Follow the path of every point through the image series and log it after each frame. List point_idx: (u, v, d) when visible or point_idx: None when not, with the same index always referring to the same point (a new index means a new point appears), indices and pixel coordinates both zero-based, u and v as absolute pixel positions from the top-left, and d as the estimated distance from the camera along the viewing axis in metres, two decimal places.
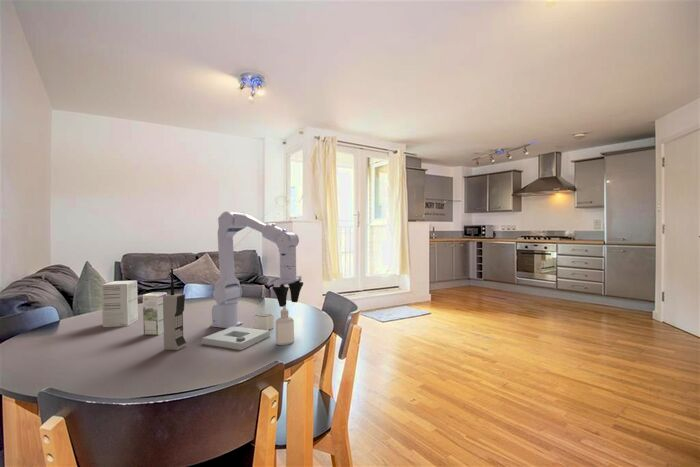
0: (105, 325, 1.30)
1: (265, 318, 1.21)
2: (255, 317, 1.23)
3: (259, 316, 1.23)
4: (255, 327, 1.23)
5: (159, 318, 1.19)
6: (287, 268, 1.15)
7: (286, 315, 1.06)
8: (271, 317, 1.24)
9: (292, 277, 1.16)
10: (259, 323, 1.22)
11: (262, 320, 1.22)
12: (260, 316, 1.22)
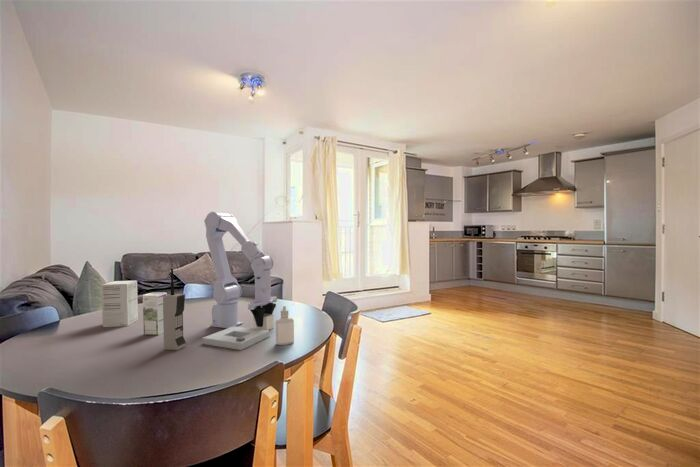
0: (105, 325, 1.30)
1: (265, 318, 1.21)
2: None
3: None
4: (255, 327, 1.23)
5: (159, 318, 1.19)
6: (261, 291, 1.21)
7: (286, 315, 1.06)
8: (271, 317, 1.24)
9: (266, 299, 1.22)
10: None
11: None
12: None
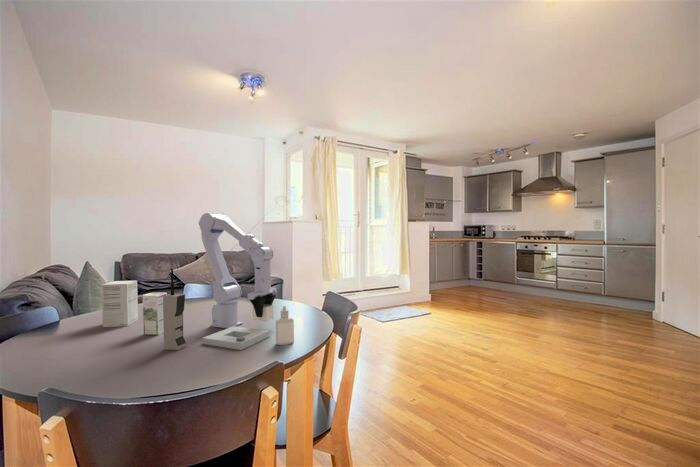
0: (105, 325, 1.30)
1: (265, 308, 1.21)
2: None
3: None
4: (255, 317, 1.23)
5: (159, 318, 1.19)
6: (261, 281, 1.21)
7: (286, 315, 1.06)
8: (271, 307, 1.24)
9: (266, 290, 1.22)
10: None
11: None
12: None
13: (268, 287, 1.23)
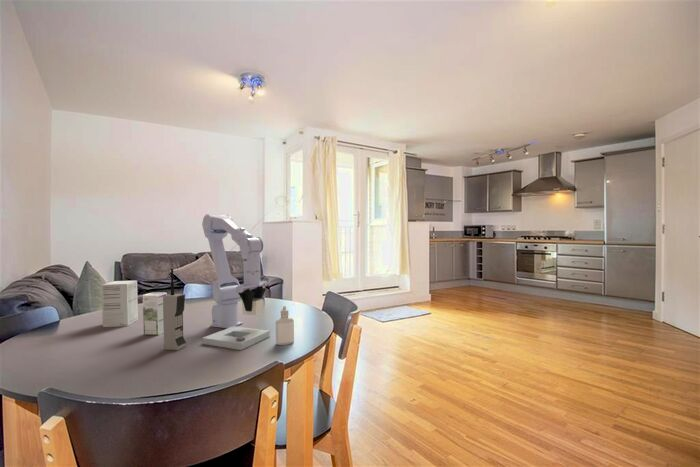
0: (105, 325, 1.30)
1: (254, 302, 1.16)
2: None
3: None
4: (244, 312, 1.17)
5: (159, 318, 1.19)
6: (250, 273, 1.16)
7: (286, 315, 1.06)
8: (261, 301, 1.18)
9: (255, 282, 1.16)
10: None
11: None
12: None
13: (258, 280, 1.17)
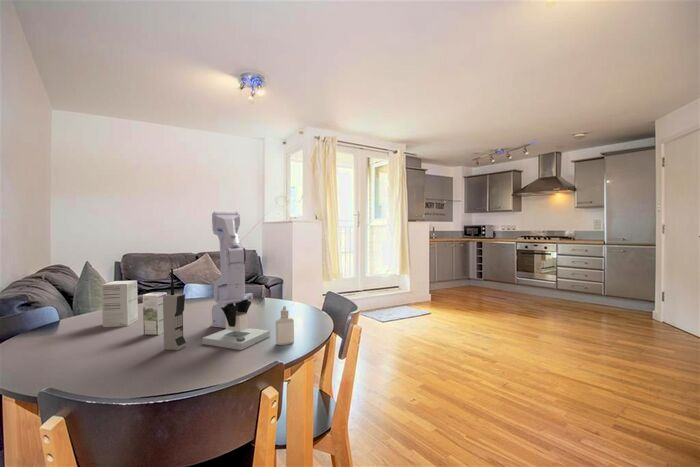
0: (105, 325, 1.30)
1: (238, 317, 1.08)
2: None
3: None
4: (227, 327, 1.10)
5: (159, 318, 1.19)
6: (234, 286, 1.08)
7: (286, 315, 1.06)
8: (245, 316, 1.11)
9: (239, 296, 1.09)
10: None
11: None
12: None
13: (242, 293, 1.10)
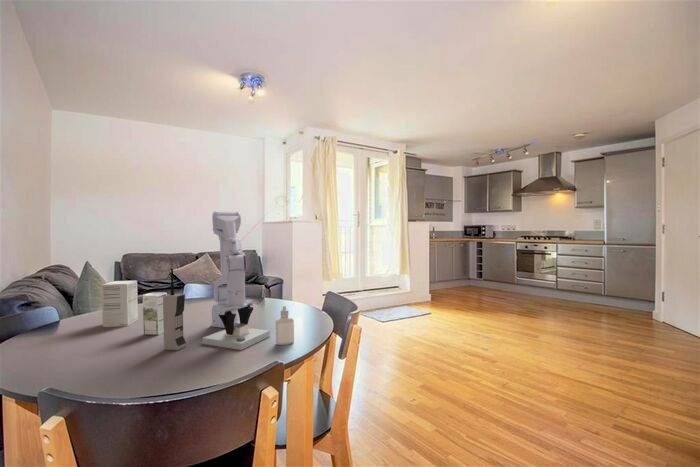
0: (105, 325, 1.30)
1: (238, 329, 1.08)
2: None
3: None
4: None
5: (159, 318, 1.19)
6: (234, 293, 1.08)
7: (286, 315, 1.06)
8: (245, 327, 1.11)
9: (239, 303, 1.09)
10: None
11: (235, 331, 1.09)
12: None
13: (242, 300, 1.10)
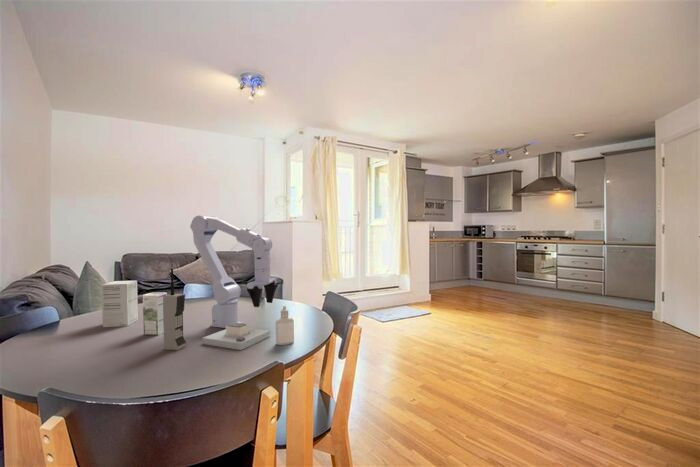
0: (105, 325, 1.30)
1: (238, 329, 1.08)
2: (227, 327, 1.10)
3: (232, 326, 1.10)
4: None
5: (159, 318, 1.19)
6: (261, 271, 1.23)
7: (286, 315, 1.06)
8: (245, 327, 1.11)
9: (266, 279, 1.24)
10: (231, 334, 1.09)
11: (235, 331, 1.09)
12: (233, 326, 1.10)
13: (268, 277, 1.25)
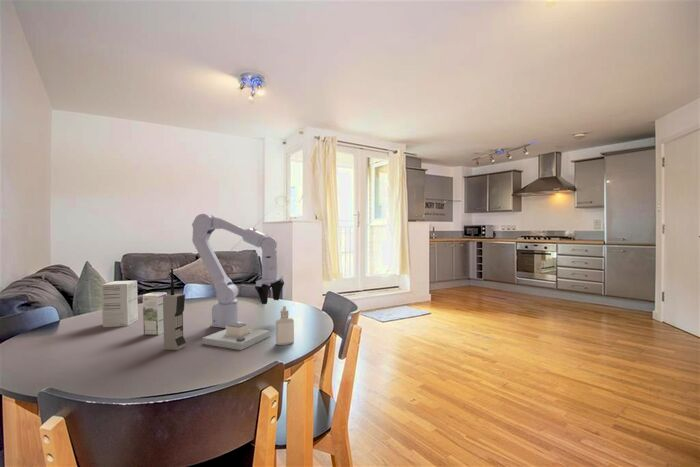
0: (105, 325, 1.30)
1: (238, 329, 1.08)
2: (227, 327, 1.10)
3: (232, 326, 1.10)
4: None
5: (159, 318, 1.19)
6: (268, 269, 1.28)
7: (286, 315, 1.06)
8: (245, 327, 1.11)
9: (273, 277, 1.29)
10: (231, 334, 1.09)
11: (235, 331, 1.09)
12: (233, 326, 1.10)
13: (275, 275, 1.30)
